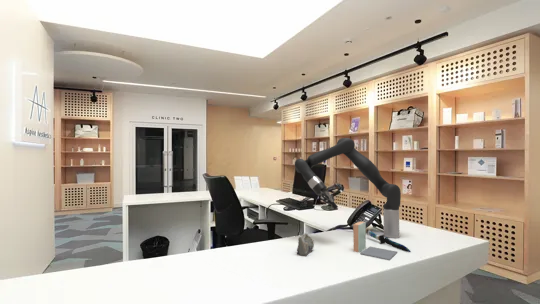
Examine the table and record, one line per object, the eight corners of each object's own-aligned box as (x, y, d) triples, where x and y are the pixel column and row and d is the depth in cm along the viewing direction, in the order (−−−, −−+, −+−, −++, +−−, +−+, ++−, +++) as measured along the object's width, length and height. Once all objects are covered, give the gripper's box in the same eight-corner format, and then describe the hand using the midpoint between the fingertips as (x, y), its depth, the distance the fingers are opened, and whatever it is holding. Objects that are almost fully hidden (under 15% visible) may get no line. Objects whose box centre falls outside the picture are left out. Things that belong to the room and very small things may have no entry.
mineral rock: (311, 248, 148) (311, 229, 149) (323, 253, 139) (323, 233, 139) (290, 251, 143) (290, 231, 143) (301, 257, 133) (301, 236, 133)
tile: (360, 246, 151) (360, 221, 151) (365, 248, 149) (365, 222, 150) (353, 251, 143) (353, 224, 144) (359, 252, 141) (359, 225, 142)
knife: (365, 236, 168) (366, 229, 168) (369, 235, 169) (370, 228, 169) (406, 257, 140) (407, 248, 140) (411, 256, 141) (411, 248, 141)
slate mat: (370, 247, 150) (370, 246, 150) (397, 252, 141) (397, 251, 141) (360, 254, 138) (360, 253, 138) (389, 260, 129) (389, 259, 129)
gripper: (315, 181, 156) (335, 205, 148) (326, 180, 167) (345, 202, 159) (307, 190, 160) (326, 213, 151) (318, 188, 170) (337, 210, 162)
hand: (336, 208), depth 155 cm, fingers closed
